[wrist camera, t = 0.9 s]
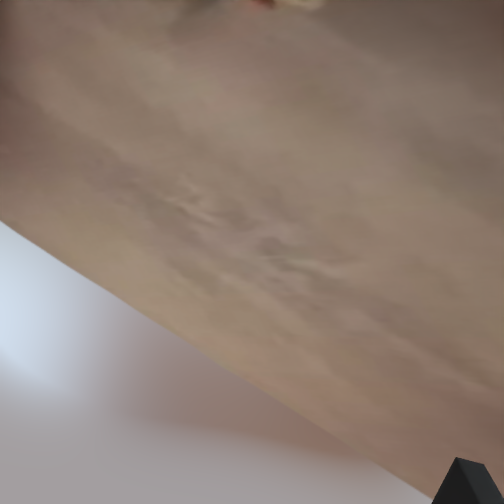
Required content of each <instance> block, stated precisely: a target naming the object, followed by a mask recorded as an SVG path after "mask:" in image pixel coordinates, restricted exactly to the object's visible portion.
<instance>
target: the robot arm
mask: <svg viewBox="0 0 504 504" xmlns="http://www.w3.org/2000/svg"><path fill="white" fill-rule="evenodd" d="M432 504H504V498H503V497H502V495H501V493H500V491H499V490H498V488H497V486H496V485H495V483H494V481H493V479H492V478H491V476H490V474H489V473H488V471H487V469H486V467H485V466H484V464H481V463H477V462H473V461H469V460H465V459H462V458H458V457H456V458H455V460H454V462H453V463H452V465H451V467H450V469H449V471H448V473H447V475H446V477H445V479H444V481H443V483H442V484H441V486H440V488H439V490H438V492H437V494H436V496H435V498H434V500H433V502H432Z"/></svg>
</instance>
